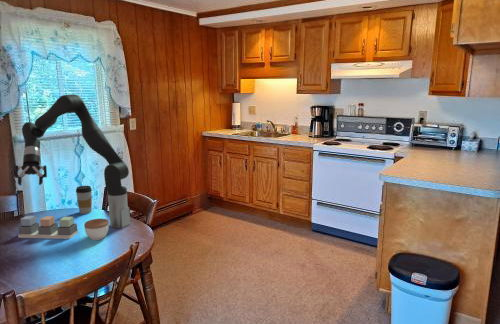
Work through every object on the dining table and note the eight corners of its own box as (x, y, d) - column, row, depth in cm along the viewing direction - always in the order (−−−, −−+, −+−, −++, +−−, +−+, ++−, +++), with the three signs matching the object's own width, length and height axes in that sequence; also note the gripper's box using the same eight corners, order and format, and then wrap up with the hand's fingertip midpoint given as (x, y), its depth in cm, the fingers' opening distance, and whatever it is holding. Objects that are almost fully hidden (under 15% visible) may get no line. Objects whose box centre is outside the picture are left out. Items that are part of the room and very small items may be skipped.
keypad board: (78, 232, 176) (77, 222, 175) (69, 238, 168) (69, 229, 167) (29, 231, 177) (27, 221, 176) (18, 237, 169) (16, 227, 168)
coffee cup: (89, 214, 201) (87, 189, 198) (74, 214, 201) (72, 189, 198) (96, 209, 209) (94, 185, 206) (82, 209, 210) (79, 185, 207)
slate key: (36, 222, 174) (35, 215, 173) (30, 226, 170) (29, 219, 169) (27, 222, 174) (26, 215, 173) (21, 225, 170) (20, 218, 169)
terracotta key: (54, 223, 174) (54, 216, 173) (49, 226, 169) (48, 219, 169) (46, 223, 174) (45, 216, 173) (40, 226, 169) (39, 219, 169)
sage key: (73, 223, 173) (73, 216, 173) (68, 227, 169) (68, 220, 168) (64, 223, 173) (64, 216, 173) (59, 226, 169) (59, 219, 168)
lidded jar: (101, 243, 164) (99, 224, 162) (80, 241, 166) (78, 222, 164) (114, 234, 174) (112, 216, 172) (94, 232, 176) (93, 214, 175)
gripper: (14, 152, 180) (12, 181, 173) (47, 153, 186) (45, 181, 179) (16, 159, 186) (14, 188, 179) (47, 160, 192) (46, 187, 185)
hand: (30, 184), depth 179 cm, fingers open, 8 cm apart
